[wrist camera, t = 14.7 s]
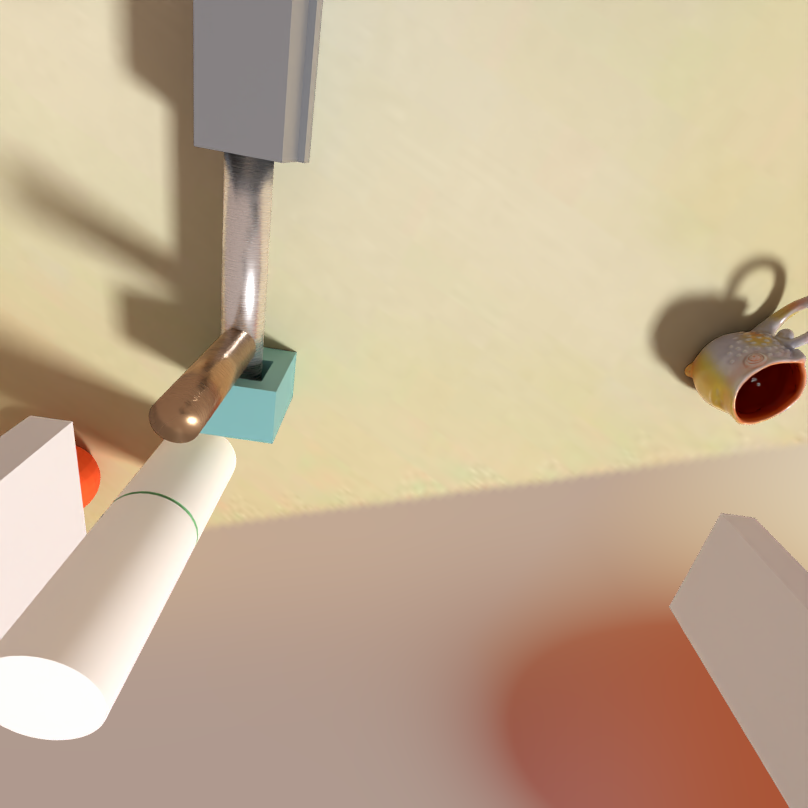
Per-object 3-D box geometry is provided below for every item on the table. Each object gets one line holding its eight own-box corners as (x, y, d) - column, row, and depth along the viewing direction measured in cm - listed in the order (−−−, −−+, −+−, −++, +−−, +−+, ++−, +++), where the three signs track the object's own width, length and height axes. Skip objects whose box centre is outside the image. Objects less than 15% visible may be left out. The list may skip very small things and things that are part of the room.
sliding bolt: (278, 159, 36) (206, 162, 22) (264, 390, 44) (204, 496, 30) (232, 150, 36) (131, 148, 22) (226, 384, 43) (148, 488, 30)
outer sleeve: (329, -75, 33) (310, -136, 26) (309, 162, 39) (289, 164, 32) (228, -98, 32) (182, -167, 25) (223, 146, 38) (185, 144, 32)
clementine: (17, 437, 49) (-40, 479, 43) (73, 409, 48) (24, 448, 42) (74, 498, 52) (29, 546, 46) (129, 473, 51) (90, 519, 45)
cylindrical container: (149, 461, 51) (-49, 708, 28) (184, 411, 48) (-3, 636, 26) (213, 498, 53) (76, 755, 30) (249, 451, 50) (129, 692, 28)
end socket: (296, 352, 46) (276, 392, 38) (292, 397, 48) (272, 443, 40) (216, 339, 45) (179, 377, 37) (216, 385, 47) (180, 430, 39)
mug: (717, 410, 49) (761, 446, 43) (669, 371, 47) (708, 403, 41) (827, 311, 45) (893, 335, 39) (779, 264, 43) (841, 282, 37)
